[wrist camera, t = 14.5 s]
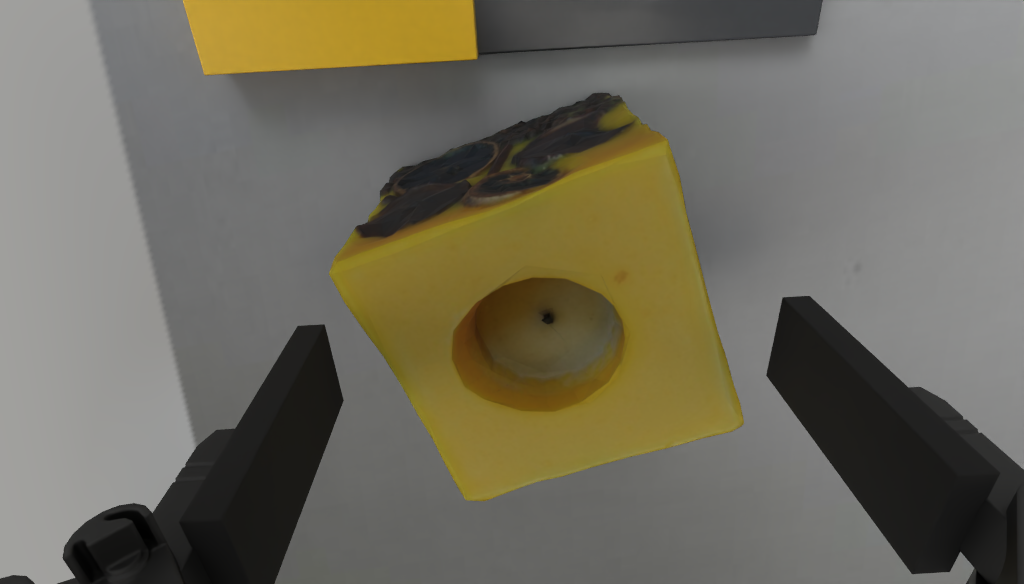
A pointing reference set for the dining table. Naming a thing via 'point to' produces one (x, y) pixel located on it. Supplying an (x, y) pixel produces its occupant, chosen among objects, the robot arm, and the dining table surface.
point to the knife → (465, 28)
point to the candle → (543, 300)
